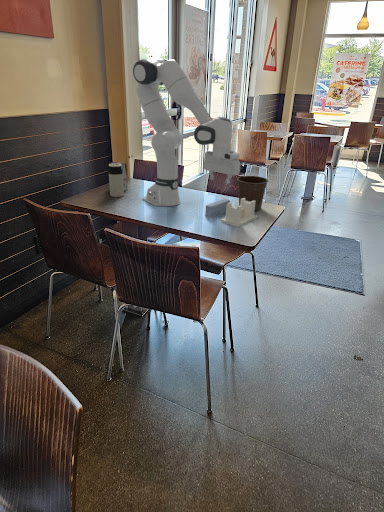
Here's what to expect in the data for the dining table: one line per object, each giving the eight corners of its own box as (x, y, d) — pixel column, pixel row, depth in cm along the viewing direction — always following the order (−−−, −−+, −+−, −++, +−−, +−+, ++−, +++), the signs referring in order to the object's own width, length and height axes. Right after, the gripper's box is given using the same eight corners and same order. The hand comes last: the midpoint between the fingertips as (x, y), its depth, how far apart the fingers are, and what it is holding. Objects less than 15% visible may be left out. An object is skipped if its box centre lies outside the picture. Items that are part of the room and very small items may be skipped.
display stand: (220, 221, 170) (222, 203, 166) (241, 213, 182) (243, 196, 178) (237, 227, 164) (239, 208, 160) (257, 218, 177) (259, 200, 173)
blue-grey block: (205, 216, 177) (205, 205, 175) (223, 209, 188) (224, 198, 185) (210, 218, 175) (211, 206, 172) (229, 211, 186) (230, 200, 183)
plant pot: (241, 213, 182) (244, 183, 175) (230, 204, 196) (232, 176, 189) (269, 212, 186) (273, 182, 179) (256, 203, 200) (260, 175, 193)
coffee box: (128, 189, 216) (127, 163, 209) (119, 191, 212) (118, 165, 205) (120, 186, 222) (118, 161, 215) (111, 188, 218) (109, 162, 211)
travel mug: (116, 198, 200) (114, 166, 192) (107, 195, 204) (105, 164, 196) (126, 195, 205) (125, 164, 197) (117, 192, 210) (115, 162, 202)
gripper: (201, 151, 172) (200, 178, 178) (234, 156, 160) (232, 186, 166) (209, 149, 176) (207, 176, 182) (242, 155, 164) (240, 184, 170)
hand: (219, 181), depth 174 cm, fingers open, 8 cm apart
